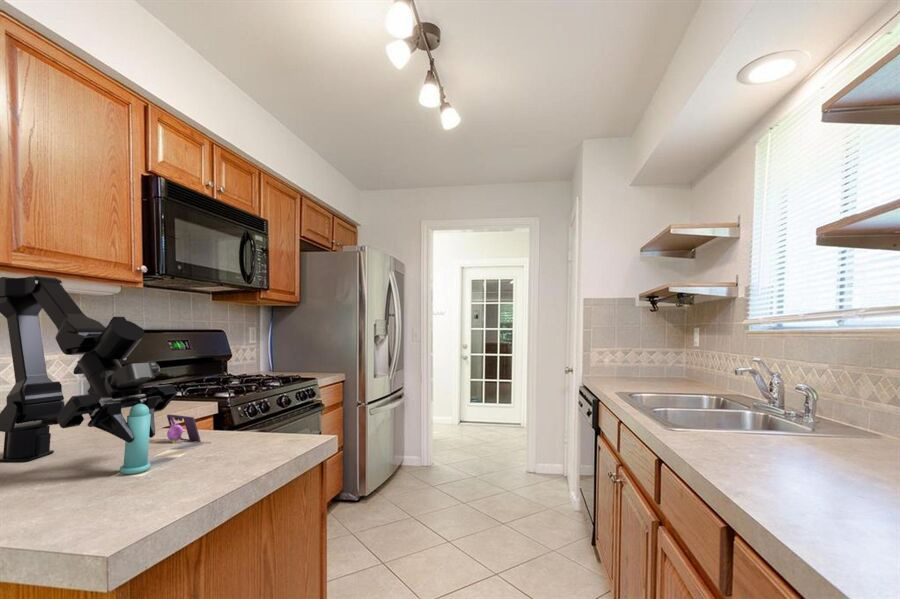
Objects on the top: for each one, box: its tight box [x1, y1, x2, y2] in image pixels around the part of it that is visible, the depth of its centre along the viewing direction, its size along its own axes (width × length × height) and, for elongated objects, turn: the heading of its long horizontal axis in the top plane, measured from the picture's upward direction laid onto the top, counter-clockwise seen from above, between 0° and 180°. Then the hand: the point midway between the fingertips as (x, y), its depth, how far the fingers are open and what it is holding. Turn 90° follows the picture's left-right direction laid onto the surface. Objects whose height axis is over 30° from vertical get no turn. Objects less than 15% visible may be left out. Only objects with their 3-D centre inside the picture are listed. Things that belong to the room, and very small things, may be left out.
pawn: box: [119, 404, 151, 474], centre depth 80 cm, size 5×5×12 cm
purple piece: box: [166, 414, 202, 445], centre depth 103 cm, size 7×5×9 cm
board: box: [110, 441, 212, 478], centre depth 88 cm, size 8×26×1 cm, turn 3°
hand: (142, 438), depth 79 cm, fingers closed on pawn, 4 cm apart
